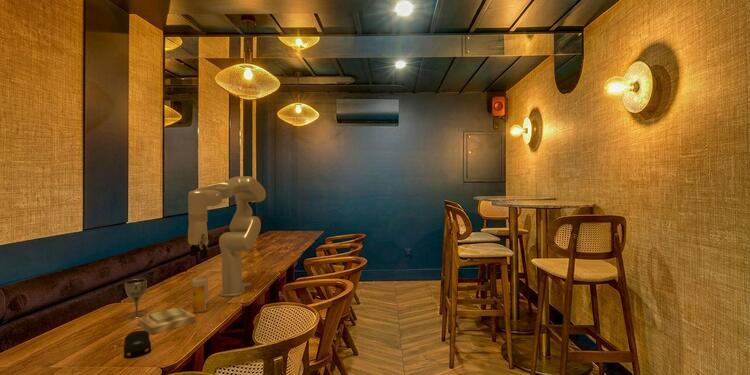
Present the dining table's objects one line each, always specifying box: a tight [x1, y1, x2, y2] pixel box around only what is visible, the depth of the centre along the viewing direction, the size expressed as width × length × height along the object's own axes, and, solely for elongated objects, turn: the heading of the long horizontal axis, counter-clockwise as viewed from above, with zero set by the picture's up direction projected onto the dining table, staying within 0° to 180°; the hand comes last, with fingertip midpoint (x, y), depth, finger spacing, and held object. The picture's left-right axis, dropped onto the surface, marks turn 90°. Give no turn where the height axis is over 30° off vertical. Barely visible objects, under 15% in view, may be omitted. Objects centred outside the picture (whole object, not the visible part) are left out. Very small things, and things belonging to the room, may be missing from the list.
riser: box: [137, 307, 197, 336], centre depth 147 cm, size 16×16×4 cm
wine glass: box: [124, 278, 148, 319], centre depth 157 cm, size 8×8×15 cm
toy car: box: [123, 328, 152, 358], centre depth 125 cm, size 8×17×5 cm, turn 34°
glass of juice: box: [191, 275, 209, 314], centre depth 161 cm, size 6×6×15 cm
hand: (198, 257), depth 160 cm, fingers open, 9 cm apart
